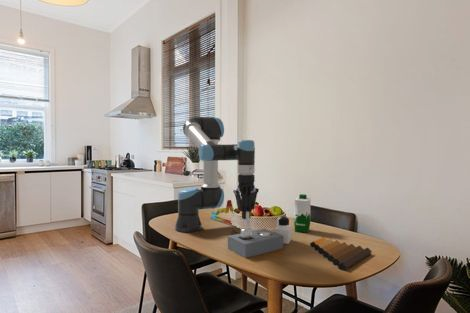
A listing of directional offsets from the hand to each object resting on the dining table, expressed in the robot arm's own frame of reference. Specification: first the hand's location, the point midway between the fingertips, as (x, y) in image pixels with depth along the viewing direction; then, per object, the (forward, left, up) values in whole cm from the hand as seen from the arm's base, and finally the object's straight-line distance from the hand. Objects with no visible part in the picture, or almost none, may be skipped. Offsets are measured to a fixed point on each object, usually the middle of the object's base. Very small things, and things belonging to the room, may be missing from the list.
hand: (246, 225), depth 137 cm
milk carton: (-9, +46, -12) cm, 48 cm away
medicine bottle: (-1, +24, -12) cm, 26 cm away
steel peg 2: (0, +11, -11) cm, 15 cm away
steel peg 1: (0, 0, -7) cm, 7 cm away
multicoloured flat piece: (-47, +19, -12) cm, 52 cm away
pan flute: (+25, +29, -12) cm, 40 cm away
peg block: (0, +6, -12) cm, 13 cm away
